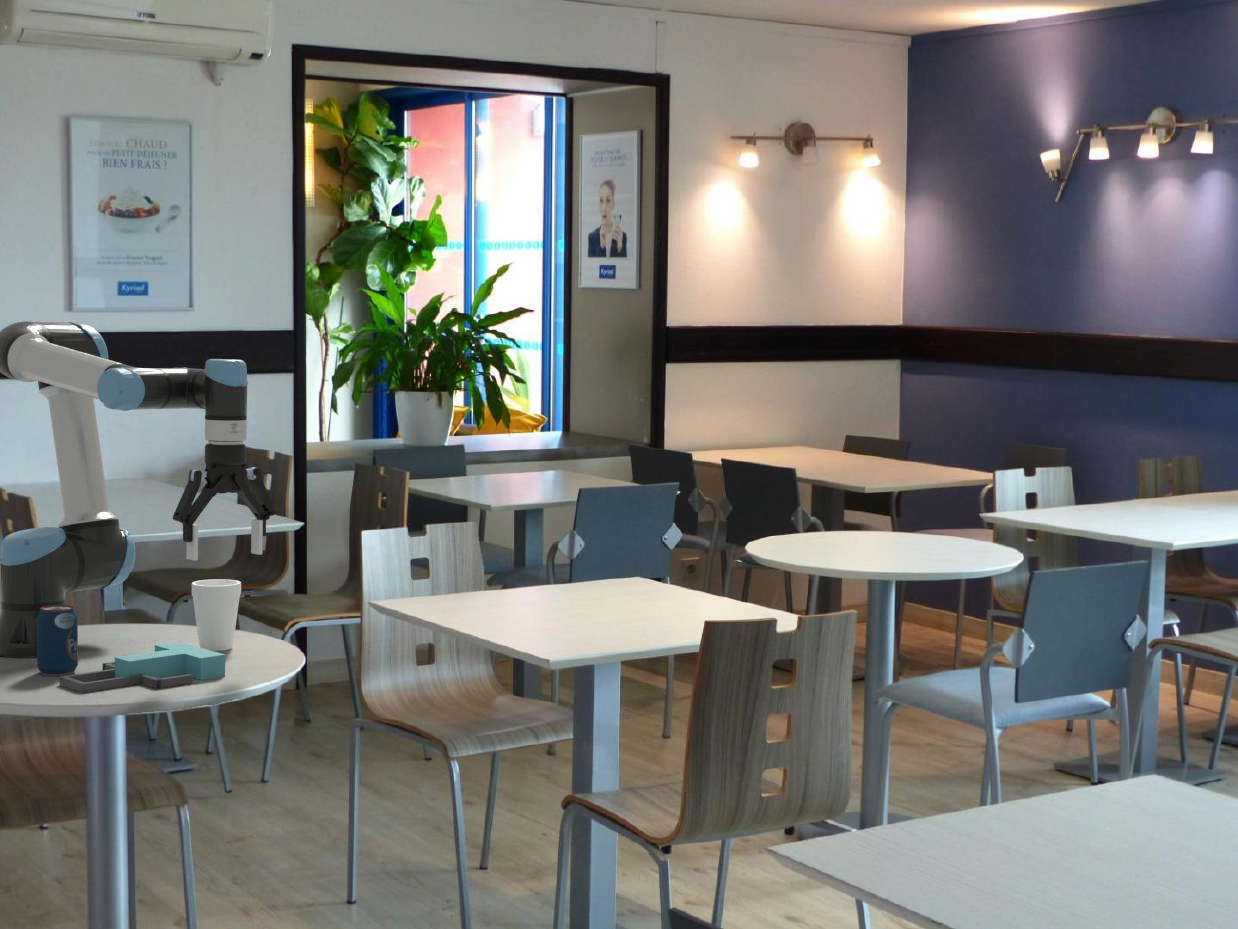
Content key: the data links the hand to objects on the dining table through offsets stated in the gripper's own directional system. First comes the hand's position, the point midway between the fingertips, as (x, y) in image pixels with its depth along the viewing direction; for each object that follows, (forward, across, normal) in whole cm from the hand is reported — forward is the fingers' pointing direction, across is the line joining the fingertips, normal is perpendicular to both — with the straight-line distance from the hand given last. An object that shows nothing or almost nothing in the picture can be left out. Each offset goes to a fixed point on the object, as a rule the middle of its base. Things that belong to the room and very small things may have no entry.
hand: (225, 556), depth 286 cm
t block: (+21, -12, 0) cm, 24 cm away
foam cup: (+21, +8, +17) cm, 28 cm away
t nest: (+21, -20, 0) cm, 29 cm away
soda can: (+21, -26, +14) cm, 36 cm away
